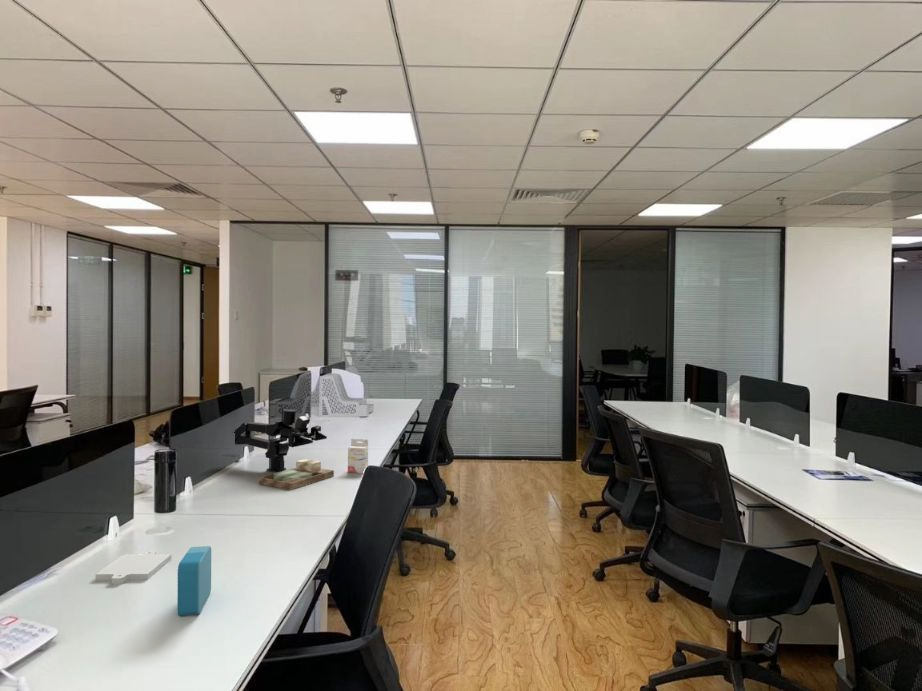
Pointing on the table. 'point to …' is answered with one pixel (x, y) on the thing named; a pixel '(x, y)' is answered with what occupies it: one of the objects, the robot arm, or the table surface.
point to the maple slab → (308, 465)
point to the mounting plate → (134, 567)
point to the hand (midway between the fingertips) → (319, 439)
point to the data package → (194, 580)
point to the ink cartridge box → (357, 456)
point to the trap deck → (295, 478)
